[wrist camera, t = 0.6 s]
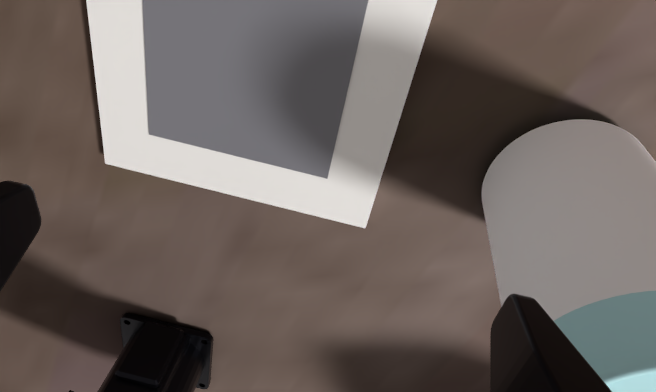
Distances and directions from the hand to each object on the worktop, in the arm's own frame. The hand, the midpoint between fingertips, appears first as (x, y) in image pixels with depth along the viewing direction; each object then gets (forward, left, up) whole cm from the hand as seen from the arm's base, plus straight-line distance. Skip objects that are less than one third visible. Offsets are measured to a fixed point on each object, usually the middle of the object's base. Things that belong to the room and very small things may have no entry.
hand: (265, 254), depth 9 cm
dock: (-2, +4, -13) cm, 14 cm away
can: (-4, -11, -14) cm, 18 cm away
